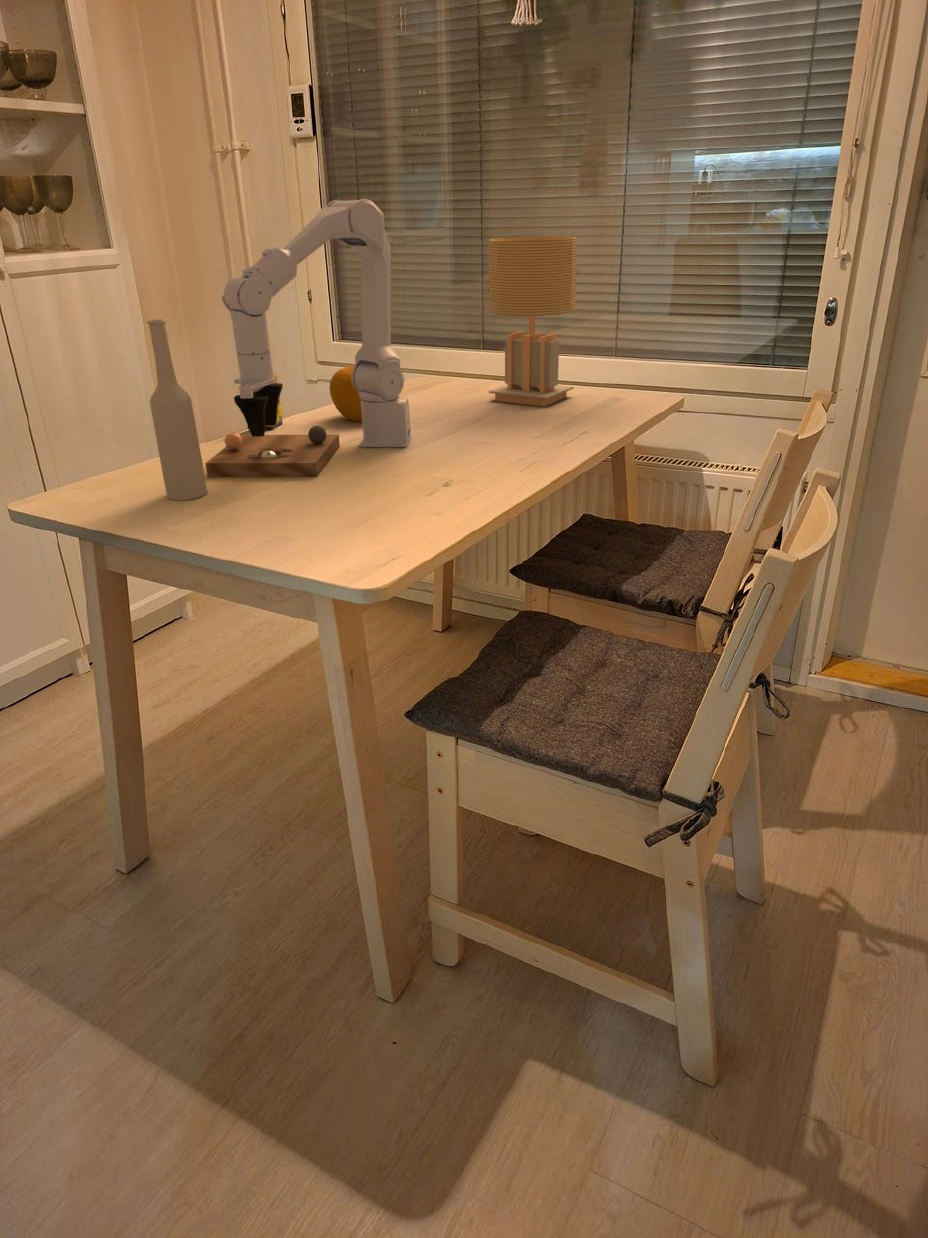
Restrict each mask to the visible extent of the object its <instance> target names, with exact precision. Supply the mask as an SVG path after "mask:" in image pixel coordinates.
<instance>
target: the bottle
mask: <svg viewBox="0 0 928 1238" xmlns="http://www.w3.org/2000/svg"><path fill="white" fill-rule="evenodd" d="M146 325H148V328H149V333H150V337H151V344H152V349H153V355H154V356H153V357H154V361H155V370H156V371H155V372H156V380H157V381H156V382H157V386H156V387H155V389H154V391H153V393H152V395H151V397H150V399H149V405H150V411H151V412H150V413H151V416H152V421H153V427H154V428H153V429H154V434H155V437H156V438H155V439H156V444H157V450H158V456H159V461H160V467H161V472H162V478H163V482H164V487H165V493H166V498H167V499H168V500H170V501H179V502H182V501H185V502H186V501H189V500H190V501H192V500H196V499H201V498H203V497H204V496H207V494H208V489H207V483H206V482H207V481H206V476H205V471H204V470H205V469H204V465H203V459H202V453H201V447H200V442H199V436H198V432H197V431H198V430H197V425H196V419H195V418H196V417H195V413H194V407H193V404H192V398H191V396H190V395H189V393H188V392H187V391H186V390H185V389H184V388H183V387H182V386H181V385H180V384H179V383H178V379H177V378H176V373H175V368H174V365H173V359H172V354H171V349H170V345H169V338H168V335H167V334H168V333H167V327H166V319H149V320H147V321H146Z"/></svg>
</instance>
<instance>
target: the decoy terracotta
mask: <svg viewBox="0 0 928 1238" xmlns="http://www.w3.org/2000/svg"><path fill="white" fill-rule="evenodd" d="M240 435H241V434H239V433H237V432H229V433H228V434H227V435H226V436H225V438H224V444H225V447H226V446H227V447H228V448H229V449H231V450H237V449H239V448H240V447H241V446H242V442H243V441H242V438H241V436H240Z"/></svg>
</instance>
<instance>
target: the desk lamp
mask: <svg viewBox="0 0 928 1238" xmlns="http://www.w3.org/2000/svg"><path fill="white" fill-rule="evenodd" d="M577 254H578V237H574V236H527V237H525V236H523V237H521V236H520V237H503V238H502V237H501V238H492V239H489V305H490V307H489V309H490V310H489V311H490V313H492V314H495V315H498V316H499V315H500V316H508V317H509V316H510V317H529V321H528V322H529V323H528V325H529V326H528V333H527V334H524V331H520V330H519V331H516V332H512V333H510V334H509V333H508V334H507V338H505V339H504V385H501V386H499V387H495V388H493V389H490V390H488V394H493V395H495V396H494V401H495V402H503V403H512V404H519V405H529V406H530V405H532V406H538V407H539V406H540V407H547V406H549V405H552V404H553V403H556V402H559V401H560V400H563V399H565V398H567V396H568V395H567V393H568V391H572V390H573V389H574V386H572V385H571V386H569V385H561V384H560V385H559V363H560V361H559V359H560V358H559V357H560V356H559V354H560V353H559V352H560V351H559V350H560V339H556V338H557V334H556V333H549V334H547V335H546V334H545V335H542V332H535V331H536V330H535V329H536V328H535V327H536V324H535V323H536V318H535V317H548V316H556V315H557V316H559V315H564V314H569V313H573V312H574V311H575V310H576V288H577V287H576V286H577V285H576V282H577V259H578V258H577Z"/></svg>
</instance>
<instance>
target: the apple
mask: <svg viewBox="0 0 928 1238" xmlns="http://www.w3.org/2000/svg"><path fill="white" fill-rule="evenodd" d="M354 366H355V365H354ZM354 366H347V367H343V368H340V369H338V370H337V371H336V372H335V373H334V374H333V376H332V377H331V379H330V382H329V396H330V398H331V401H332V403H333V404H334V406H335V408H336V409H337V411H338V412H339V413H340V415H341V416H343V417H344V418H346V419H348V420H351V421H353V422H354V423H355V422H356V423H359V422H361V423H362V411H361V398H360V397H359V391H357V390H356V389H355V387H354V386H353V383H352V371H353V368H354Z"/></svg>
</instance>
